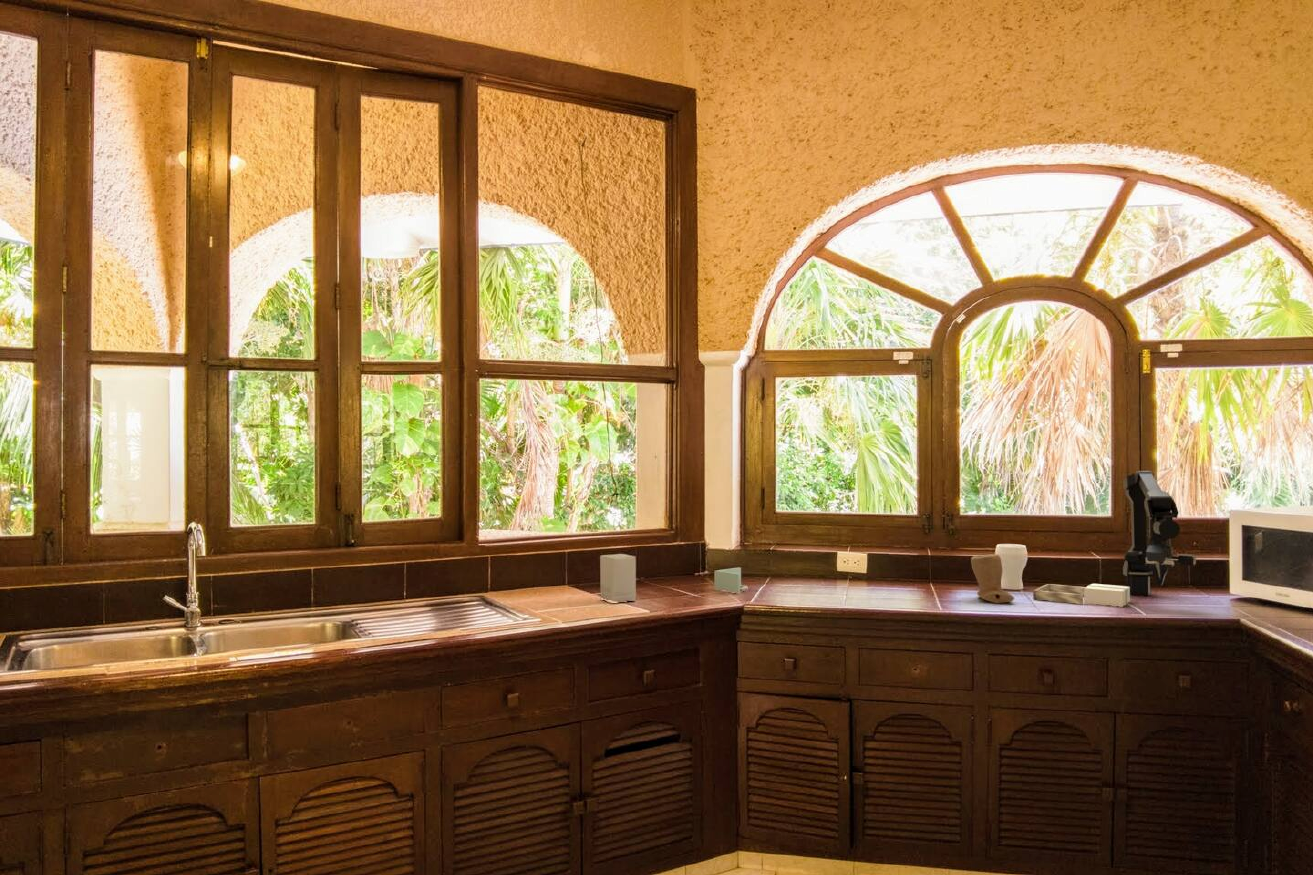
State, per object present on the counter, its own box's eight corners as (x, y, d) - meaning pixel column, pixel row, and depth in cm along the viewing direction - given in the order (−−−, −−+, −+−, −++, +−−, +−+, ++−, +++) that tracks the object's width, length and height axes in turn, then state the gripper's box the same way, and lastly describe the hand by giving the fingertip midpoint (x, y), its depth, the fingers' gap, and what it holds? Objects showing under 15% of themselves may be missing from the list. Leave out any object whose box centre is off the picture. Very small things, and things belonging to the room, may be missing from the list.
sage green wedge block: (738, 596, 304) (738, 574, 304) (714, 592, 314) (714, 570, 314) (763, 592, 312) (762, 570, 312) (739, 588, 321) (738, 567, 321)
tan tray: (1094, 597, 295) (1094, 588, 295) (1082, 604, 282) (1082, 594, 282) (1047, 592, 305) (1047, 583, 305) (1033, 599, 292) (1033, 590, 292)
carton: (1130, 602, 286) (1129, 586, 286) (1122, 607, 278) (1122, 591, 278) (1092, 598, 293) (1092, 583, 293) (1084, 603, 285) (1083, 587, 285)
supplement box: (636, 601, 292) (636, 556, 292) (612, 604, 287) (612, 558, 287) (623, 597, 300) (623, 553, 300) (599, 600, 295) (599, 555, 295)
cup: (990, 585, 319) (989, 543, 319) (1018, 585, 320) (1018, 543, 320) (1004, 590, 309) (1003, 547, 309) (1033, 590, 310) (1033, 546, 310)
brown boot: (969, 595, 300) (968, 551, 300) (1006, 596, 298) (1006, 551, 298) (975, 603, 285) (975, 556, 285) (1014, 604, 283) (1014, 557, 283)
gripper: (1120, 535, 276) (1121, 586, 276) (1190, 539, 264) (1190, 592, 264) (1128, 532, 285) (1128, 581, 285) (1195, 536, 273) (1196, 587, 273)
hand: (1160, 585), depth 276 cm, fingers closed
